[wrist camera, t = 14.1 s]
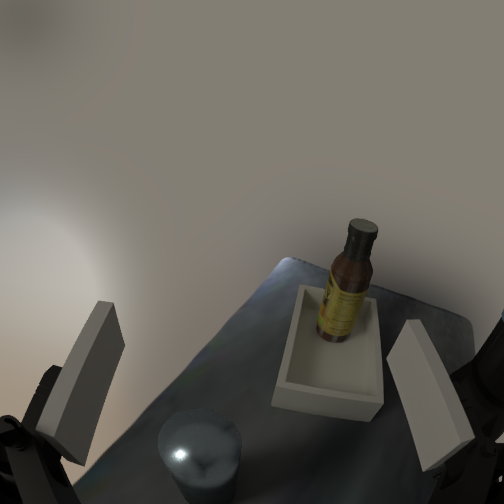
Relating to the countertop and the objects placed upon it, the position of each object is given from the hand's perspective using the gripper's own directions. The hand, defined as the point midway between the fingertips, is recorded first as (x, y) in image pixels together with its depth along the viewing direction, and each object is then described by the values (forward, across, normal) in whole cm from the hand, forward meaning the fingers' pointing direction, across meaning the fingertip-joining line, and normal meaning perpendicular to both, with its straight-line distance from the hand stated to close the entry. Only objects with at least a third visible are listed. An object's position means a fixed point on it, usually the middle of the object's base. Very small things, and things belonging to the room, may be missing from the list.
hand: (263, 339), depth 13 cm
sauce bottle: (+26, +15, -25) cm, 39 cm away
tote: (+21, +14, -26) cm, 36 cm away
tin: (0, -3, -26) cm, 27 cm away
